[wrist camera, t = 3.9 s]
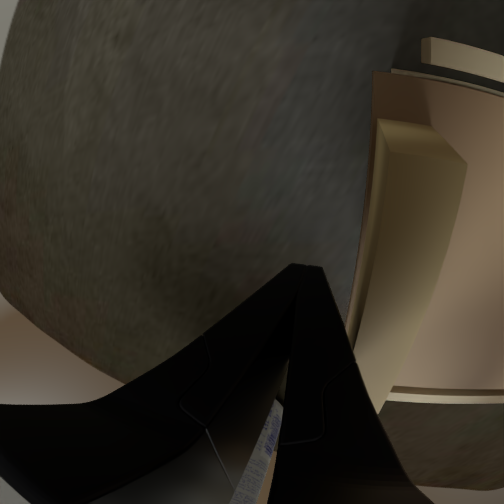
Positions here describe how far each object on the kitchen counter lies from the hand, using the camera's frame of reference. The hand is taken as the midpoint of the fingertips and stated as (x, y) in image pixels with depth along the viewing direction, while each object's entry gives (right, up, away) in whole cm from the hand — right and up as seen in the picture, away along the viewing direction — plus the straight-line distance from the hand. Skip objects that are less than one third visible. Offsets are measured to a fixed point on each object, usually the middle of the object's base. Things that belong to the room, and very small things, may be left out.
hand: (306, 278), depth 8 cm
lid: (+8, 0, -1) cm, 8 cm away
